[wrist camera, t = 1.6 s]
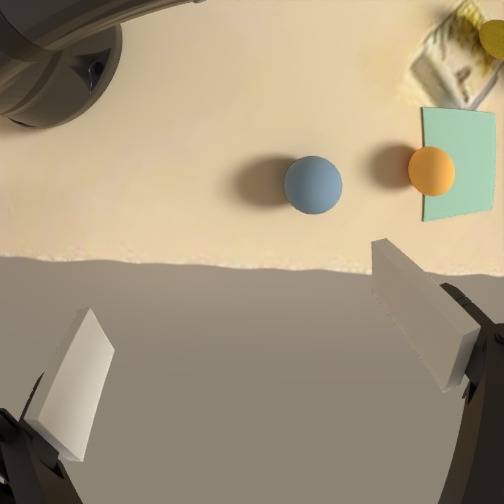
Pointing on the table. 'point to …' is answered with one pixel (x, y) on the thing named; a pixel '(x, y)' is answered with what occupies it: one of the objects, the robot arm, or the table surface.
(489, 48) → the lemon
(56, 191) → the table surface
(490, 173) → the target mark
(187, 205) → the table surface
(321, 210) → the blue ball
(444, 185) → the orange ball
